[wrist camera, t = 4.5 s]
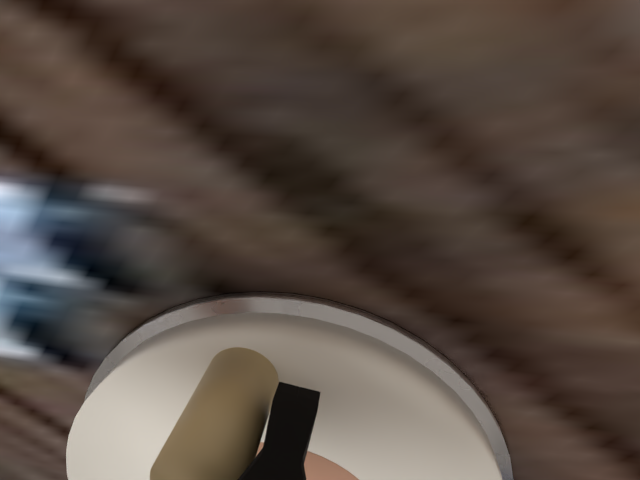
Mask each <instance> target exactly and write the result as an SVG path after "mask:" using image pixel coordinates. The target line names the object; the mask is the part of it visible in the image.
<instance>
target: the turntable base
mask: <svg viewBox="0 0 640 480" xmlns="http://www.w3.org/2000/svg"><path fill="white" fill-rule="evenodd" d="M248 312H252V313H280V314H288V315H295V316H301V317H308V318H315V319H318V320H322V321H326V322H330V323H334V324H337V325H341V326H345V327H348V328H351V329H353V330H356V331H358V332H361V333H364V334H366V335H369V336H372V337H374V338H377V339H379V340H381V341H383V342H385V343H387V344H389V345H390V346H392V347H394V348H396V349H398V350H400V351H402V352H404V353H406V354H408V355H409V356H411V357H412V358H413V359H415V360H416V361H418V362H419V363H421V364H422V365H424V366H425V367H427V368H428V369H430V370H431V371H433V372H434V373H435V374H436V375H437V376H438V377H439V378H441V379H442V380H443V381H444V382H445V383H446V384H447V385H449V386H450V387H451V388H452V389H453V390H454V391H455V392H456V393H457V394H458V395H459V396H460V398H461V399H462V400H463V401H464V402H465V403H466V405H467V406H468V407H469V408H470V409H471V410H472V412H473V413H474V415H475V416H476V418H477V419H478V421H479V422H480V424H481V426H482V427H483V429H484V430H485V432H486V434H487V436H488V438H489V441H490V443H491V446H492V448H493V450H494V453H495V455H496V458H497V462H498V465H499V469H500V472H501V475H502V479H503V480H513V474H512V467H511V460H510V456H509V453H508V450H507V446H506V444H505V441H504V438H503V435H502V432H501V429H500V426H499V424H498V422H497V420H496V418H495V416H494V415H493V413H492V411H491V409H490V407H489V405H488V404H487V402H486V400H485V399H484V398H483V396H482V395H481V394H480V393H479V391H478V390H477V389H476V387H475V386H474V385H473V384H472V382H471V381H470V380H469V379H468V378H467V377H466V376H465V375H464V374H463V373H462V372H461V371H460V370H459V369H458V368H457V367H456V366H455V365H454V364H453V363H452V362H451V361H450V360H449V359H448V358H446V357H445V356H444V355H442V354H441V353H440V352H438V351H437V350H436V349H434V348H433V347H432V346H430V345H429V344H428V343H426V342H425V341H423V340H422V339H421V338H419V337H417V336H415V335H413V334H412V333H410V332H408V331H406V330H405V329H403V328H401V327H399V326H398V325H396V324H394V323H392V322H390V321H387V320H385V319H383V318H380V317H378V316H376V315H373V314H371V313H368V312H366V311H364V310H361V309H358V308H355V307H351V306H348V305H344V304H341V303H338V302H334V301H331V300H327V299H321V298H316V297H310V296H304V295H299V294H291V293H274V292H246V293H229V294H223V295H218V296H213V297H207V298H202V299H197V300H194V301H191V302H188V303H185V304H182V305H179V306H176V307H173V308H171V309H169V310H167V311H165V312H163V313H161V314H159V315H157V316H155V317H153V318H151V319H149V320H147V321H146V322H144V323H143V324H142V325H140V326H139V327H137V328H136V329H135V330H133V331H132V332H130V333H129V334H128V335H127V336H126V337H125V338H124V339H123V340H122V341H121V342H120V343H119V344H118V345H117V346H116V347H115V348H114V349H113V350H112V351H111V352H110V353H109V355H108V356H107V357H106V358H105V359H104V361H103V362H102V364H101V365H100V367H99V368H98V370H97V371H96V373H95V374H94V376H93V378H92V381H91V383H90V386H89V388H88V390H87V393H86V396H85V400H86V399H87V398H88V397H89V396H90V395H91V393H92V392H93V391H94V390H95V389H96V388H97V386H98V385H99V384H100V383H101V382H102V381H103V380H104V378H105V377H106V376H107V375H108V374H109V373H110V372H111V370H112V369H113V368H114V367H115V366H116V365H117V364H118V363H119V362H120V361H121V359H122V358H123V357H124V356H125V355H126V354H128V353H129V352H130V351H132V350H133V349H134V348H136V347H137V346H138V345H139V344H141V343H142V342H143V341H145V340H147V339H149V338H151V337H153V336H155V335H157V334H158V333H160V332H162V331H164V330H166V329H169V328H172V327H175V326H177V325H180V324H183V323H186V322H189V321H192V320H197V319H202V318H206V317H211V316H216V315H224V314H236V313H248ZM84 402H85V401H84Z"/></svg>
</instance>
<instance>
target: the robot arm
mask: <svg viewBox="0 0 640 480" xmlns="http://www.w3.org/2000/svg"><path fill="white" fill-rule="evenodd" d="M319 398H320V392H319V391H315V390H311V389H307V388H303V387H299V386H295V385H291V384H287V383H283V382H279V384H278V387H277V389H276V392H275V395H274V398H273V401H272V406H271V411H270V415H269V420H268V425H267V430H266V435H265V440H264V445H263V448H262V449H261V451H260V452H259V453H258V455H257V456H256V457H255V459H254V460H253V461H252V463H251V464H250V465H249V466H248V468H247V469H246V470H245V471H244V472H243V474H242V475H241V476H240V477H239V478H238V479H237V480H306V474H305V468H304V462H305V458H306V454H307V450H308V446H309V442H310V438H311V434H312V431H313V427H314V423H315V419H316V415H317V411H318V405H319Z"/></svg>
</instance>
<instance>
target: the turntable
mask: <svg viewBox="0 0 640 480" xmlns="http://www.w3.org/2000/svg"><path fill="white" fill-rule="evenodd" d="M279 382H283V383H287V384H291V385H295V386H299V387H303V388H307V389H311V390H315V391H319V392H320V398H319V405H318V411H317V415H316V419H315V423H314V427H313V431H312V434H311V438H310V442H309V446H308V450H307V454H306V458H305V462H304V468H305V474H306V480H503V479H502V475H501V472H500V469H499V465H498V462H497V458H496V455H495V453H494V450H493V448H492V446H491V443H490V441H489V438H488V436H487V434H486V432H485V430H484V429H483V427H482V426H481V424H480V422H479V421H478V419H477V418H476V416H475V415H474V413H473V412H472V410H471V409H470V408H469V407H468V406H467V405H466V403H465V402H464V401H463V400H462V399H461V398H460V396H459V395H458V394H457V393H456V392H455V391H454V390H453V389H452V388H451V387H450V386H449V385H447V384H446V383H445V382H444V381H443V380H442V379H441V378H439V377H438V376H437V375H436V374H435V373H434V372H433V371H431V370H430V369H428V368H427V367H425V366H424V365H422V364H421V363H419V362H418V361H416V360H415V359H413V358H412V357H411V356H409V355H408V354H406V353H404V352H402V351H400V350H398V349H396V348H394V347H392V346H390V345H389V344H387V343H385V342H383V341H381V340H379V339H377V338H374V337H372V336H369V335H366V334H364V333H361V332H358V331H356V330H353V329H351V328H348V327H345V326H341V325H337V324H334V323H330V322H326V321H322V320H318V319H315V318H308V317H301V316H295V315H288V314H280V313H252V312H248V313H236V314H224V315H216V316H211V317H206V318H202V319H197V320H192V321H189V322H186V323H183V324H180V325H177V326H175V327H172V328H169V329H166V330H164V331H162V332H160V333H158V334H157V335H155V336H153V337H151V338H149V339H147V340H145V341H143V342H142V343H141V344H139V345H138V346H137V347H136V348H134V349H133V350H132V351H130V352H129V353H128V354H126V355H125V356H124V357H123V358H122V359H121V361H120V362H119V363H118V364H117V365H116V366H115V367H114V368H113V369H112V370H111V372H110V373H109V374H108V375H107V376H106V377H105V378H104V380H103V381H102V382H101V383H100V384H99V385H98V386H97V388H96V389H95V390H94V391H93V392H92V393H91V395H90V396H89V397H88V398H87V399H86V400H85V402H84V404H83V405H82V407H81V409H80V410H79V412H78V414H77V415H76V417H75V419H74V422H73V425H72V428H71V431H70V433H69V436H68V444H67V451H66V465H67V476H68V480H237V479H238V478H239V477H240V476H241V475H242V474H243V472H244V471H245V470H246V469H247V468H248V466H249V465H250V464H251V463H252V461H253V460H254V459H255V457H256V456H257V455H258V453H259V452H260V451H261V449H262V448H263V445H264V440H265V435H266V430H267V425H268V420H269V415H270V411H271V406H272V401H273V398H274V395H275V392H276V389H277V387H278V384H279Z"/></svg>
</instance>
